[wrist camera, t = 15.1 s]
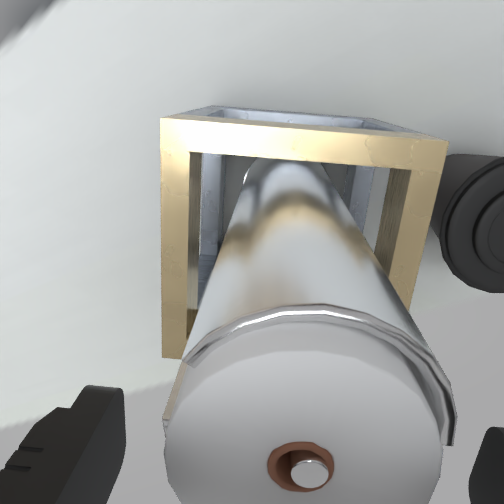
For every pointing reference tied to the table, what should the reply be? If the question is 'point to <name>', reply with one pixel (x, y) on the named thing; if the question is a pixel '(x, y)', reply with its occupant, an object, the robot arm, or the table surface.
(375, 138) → the collar stand
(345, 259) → the silver metal cylinder
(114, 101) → the table surface
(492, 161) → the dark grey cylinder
